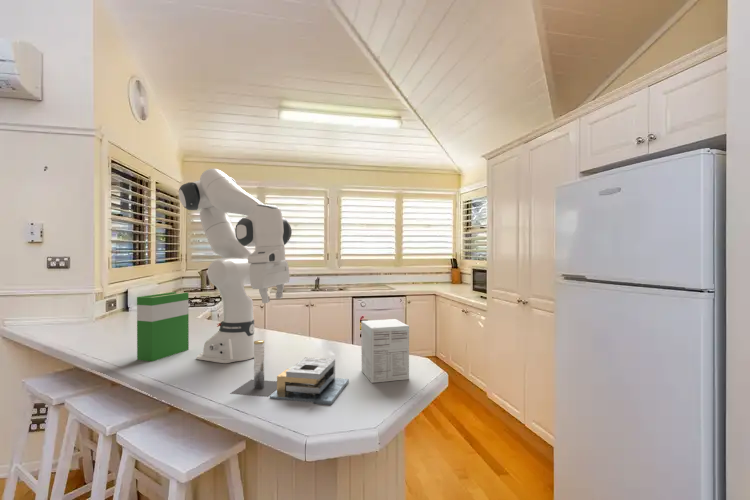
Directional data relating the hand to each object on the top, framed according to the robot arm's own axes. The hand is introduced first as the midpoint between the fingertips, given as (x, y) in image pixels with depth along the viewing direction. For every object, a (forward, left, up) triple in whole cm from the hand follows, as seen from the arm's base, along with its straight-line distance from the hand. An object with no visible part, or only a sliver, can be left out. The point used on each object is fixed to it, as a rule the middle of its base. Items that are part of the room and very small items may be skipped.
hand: (272, 300), depth 118 cm
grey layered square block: (+13, -2, -26) cm, 30 cm away
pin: (-3, -4, -26) cm, 26 cm away
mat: (-3, -4, -26) cm, 27 cm away
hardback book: (-59, +23, -27) cm, 68 cm away
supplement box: (+32, +16, -27) cm, 45 cm away
